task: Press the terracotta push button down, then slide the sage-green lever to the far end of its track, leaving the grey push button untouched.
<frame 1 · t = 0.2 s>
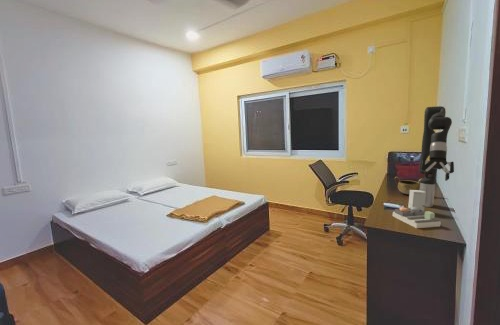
hand: (436, 179, 133), 31 cm above the table, tool tilted 20°, fingers open, 8 cm apart
grey button: (415, 209, 159), point 6 cm above the table, slide at 0.0 cm
sage slider: (429, 215, 148), point 5 cm above the table, slide at 0.0 cm
terracotta button: (404, 210, 158), point 6 cm above the table, slide at 0.0 cm
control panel: (415, 220, 154), on the table
skincare box: (415, 211, 172), on the table
tan woven basket: (407, 194, 214), on the table
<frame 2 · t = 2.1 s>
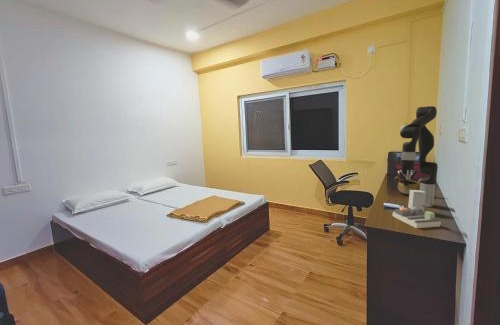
hand: (406, 185, 156), 22 cm above the table, tool pointing down, fingers closed
nothing on the table moved.
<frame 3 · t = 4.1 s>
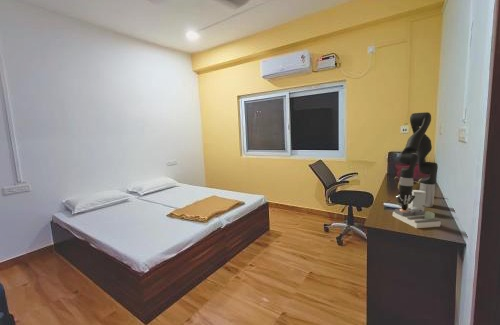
hand: (404, 209, 158), 6 cm above the table, tool pointing down, fingers closed
terracotta button: (403, 211, 158), point 5 cm above the table, slide at 0.9 cm, touching gripper
everything else where it was.
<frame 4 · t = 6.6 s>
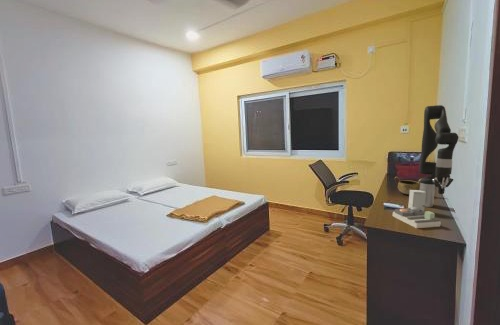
hand: (441, 193, 147), 19 cm above the table, tool pointing down, fingers closed
terracotta button: (403, 211, 158), point 4 cm above the table, slide at 1.1 cm
everything else where it was.
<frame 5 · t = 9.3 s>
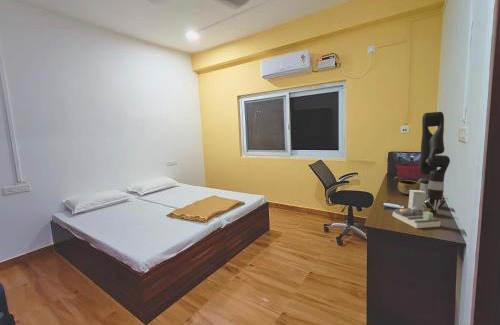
hand: (433, 215, 148), 6 cm above the table, tool pointing down, fingers closed
sage slider: (427, 215, 148), point 5 cm above the table, slide at 1.0 cm, touching gripper
everything else where it was.
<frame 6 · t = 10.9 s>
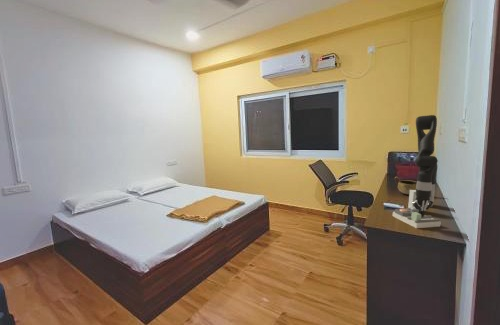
hand: (421, 216, 147), 6 cm above the table, tool pointing down, fingers closed
sage slider: (416, 216, 147), point 5 cm above the table, slide at 9.0 cm, touching gripper
everything else where it was.
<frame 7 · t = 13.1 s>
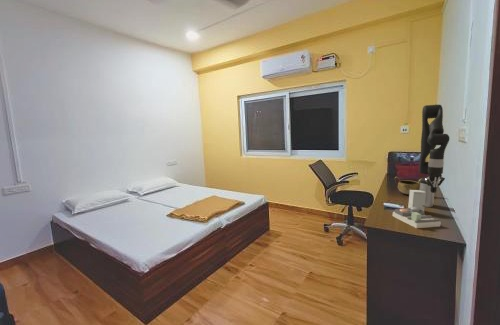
hand: (433, 192, 153), 18 cm above the table, tool pointing down, fingers closed
sage slider: (416, 216, 147), point 5 cm above the table, slide at 9.1 cm
everything else where it was.
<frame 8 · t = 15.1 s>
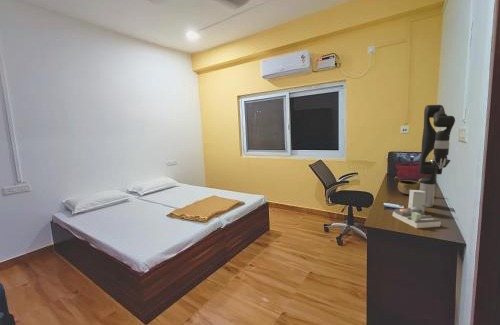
hand: (438, 174, 156), 29 cm above the table, tool pointing down, fingers closed
nothing on the table moved.
at the end: terracotta button slide at 1.1 cm; sage slider slide at 9.1 cm; grey button slide at 0.0 cm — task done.
